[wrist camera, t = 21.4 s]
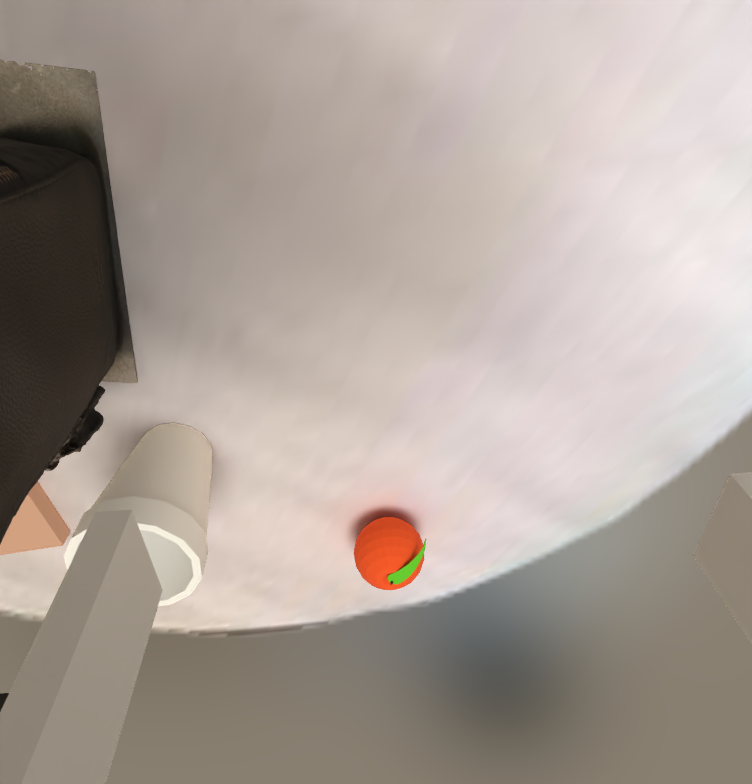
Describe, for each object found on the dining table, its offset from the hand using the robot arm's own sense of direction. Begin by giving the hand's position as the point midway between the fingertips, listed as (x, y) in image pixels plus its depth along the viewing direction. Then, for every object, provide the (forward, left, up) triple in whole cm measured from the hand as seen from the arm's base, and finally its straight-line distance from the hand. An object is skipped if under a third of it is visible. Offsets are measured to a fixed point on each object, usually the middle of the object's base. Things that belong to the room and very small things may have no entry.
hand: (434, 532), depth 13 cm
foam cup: (+1, -29, -32) cm, 43 cm away
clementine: (+23, -25, -32) cm, 46 cm away
